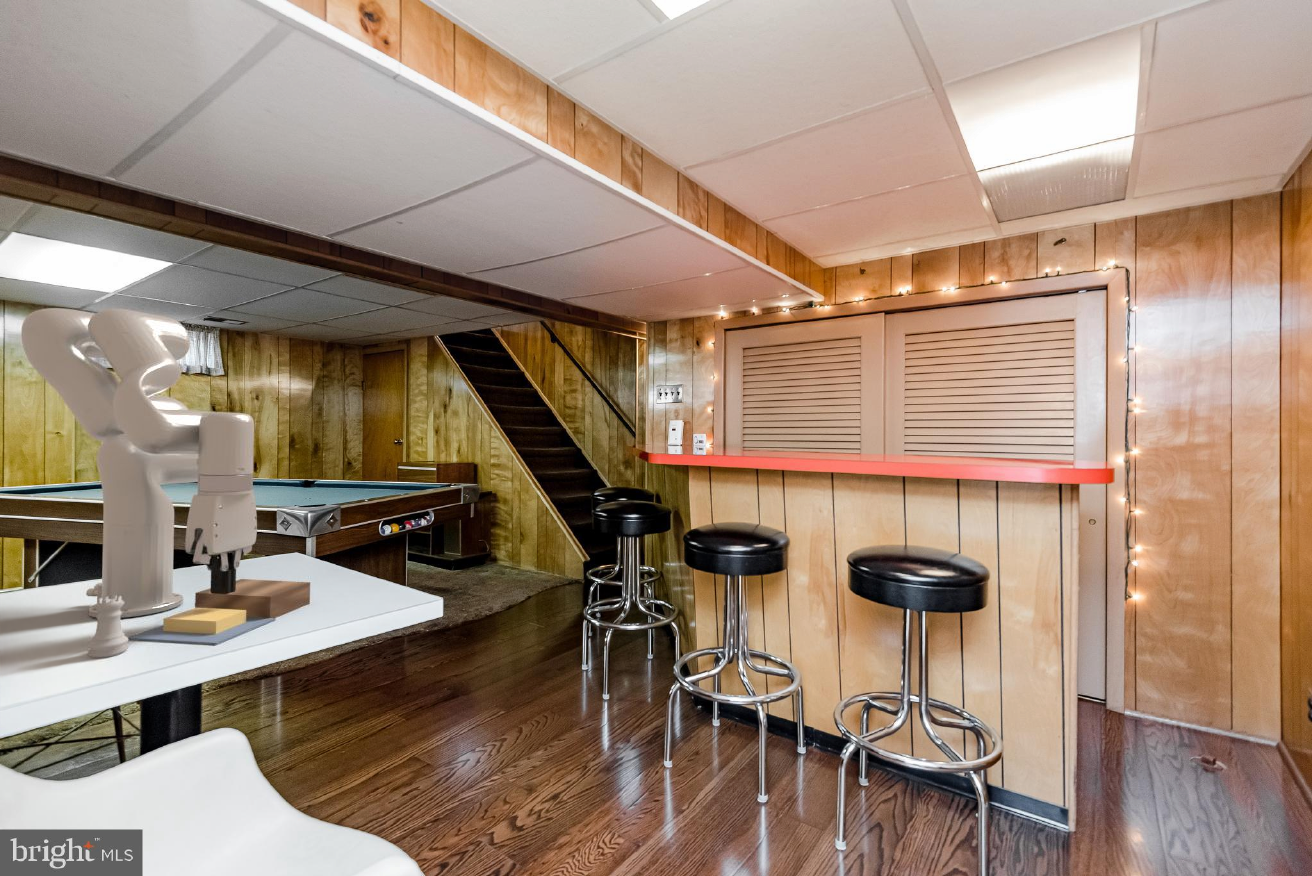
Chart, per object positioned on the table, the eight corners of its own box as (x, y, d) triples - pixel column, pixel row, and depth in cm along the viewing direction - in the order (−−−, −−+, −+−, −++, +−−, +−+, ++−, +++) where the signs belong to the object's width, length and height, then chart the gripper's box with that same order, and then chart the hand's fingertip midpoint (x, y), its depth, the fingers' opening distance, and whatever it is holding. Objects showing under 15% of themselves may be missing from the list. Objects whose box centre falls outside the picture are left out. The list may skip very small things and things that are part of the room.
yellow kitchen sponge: (196, 607, 98) (196, 619, 98) (163, 618, 92) (163, 631, 92) (246, 610, 97) (246, 622, 97) (216, 621, 91) (216, 634, 91)
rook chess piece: (105, 647, 85) (106, 593, 85) (137, 647, 86) (138, 593, 86) (77, 659, 81) (78, 602, 81) (111, 659, 81) (112, 602, 81)
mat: (126, 639, 89) (126, 637, 89) (194, 615, 101) (194, 614, 101) (216, 644, 87) (216, 642, 87) (275, 620, 99) (275, 618, 99)
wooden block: (194, 615, 101) (195, 592, 101) (240, 599, 111) (241, 579, 111) (270, 619, 100) (270, 596, 100) (309, 603, 110) (310, 582, 110)
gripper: (240, 481, 106) (238, 580, 106) (164, 487, 91) (161, 604, 91) (278, 482, 105) (276, 582, 105) (208, 489, 90) (205, 606, 90)
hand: (223, 592), depth 98 cm, fingers closed
